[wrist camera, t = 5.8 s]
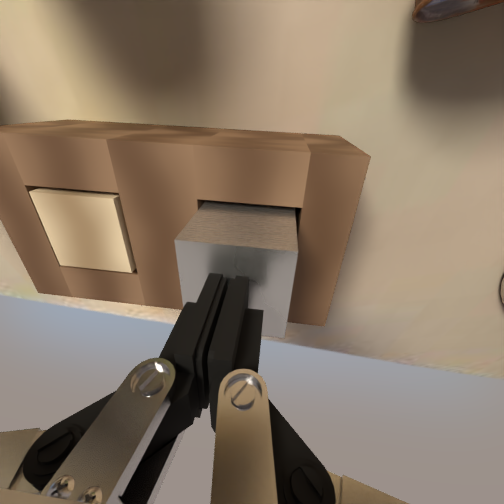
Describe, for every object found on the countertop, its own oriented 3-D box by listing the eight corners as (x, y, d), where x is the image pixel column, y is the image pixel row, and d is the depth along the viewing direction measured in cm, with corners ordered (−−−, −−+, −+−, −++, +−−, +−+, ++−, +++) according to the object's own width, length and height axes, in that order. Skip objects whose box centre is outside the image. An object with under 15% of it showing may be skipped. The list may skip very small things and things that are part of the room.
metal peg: (293, 191, 16) (298, 251, 10) (284, 256, 19) (284, 338, 12) (218, 185, 17) (174, 239, 10) (219, 250, 19) (185, 326, 13)
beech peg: (168, 167, 20) (113, 198, 14) (175, 223, 23) (131, 272, 16) (110, 163, 21) (28, 191, 14) (123, 218, 23) (60, 265, 17)
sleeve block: (339, 135, 18) (370, 156, 11) (313, 262, 24) (324, 326, 17) (68, 119, 20) (-46, 129, 13) (104, 241, 26) (38, 292, 19)
